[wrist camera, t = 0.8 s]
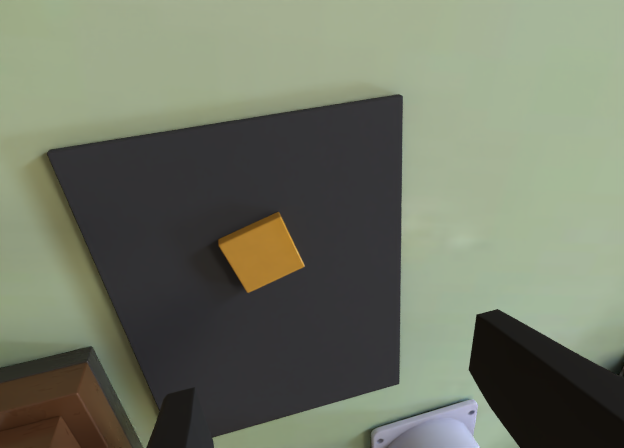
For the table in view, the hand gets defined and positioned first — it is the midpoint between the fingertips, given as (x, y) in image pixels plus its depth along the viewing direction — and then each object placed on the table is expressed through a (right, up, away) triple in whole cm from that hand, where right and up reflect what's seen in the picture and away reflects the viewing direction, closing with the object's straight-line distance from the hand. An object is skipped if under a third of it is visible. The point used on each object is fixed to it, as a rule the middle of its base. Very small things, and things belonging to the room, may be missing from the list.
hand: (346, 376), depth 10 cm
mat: (-3, 0, +10) cm, 11 cm away
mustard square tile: (-3, +3, +9) cm, 10 cm away
